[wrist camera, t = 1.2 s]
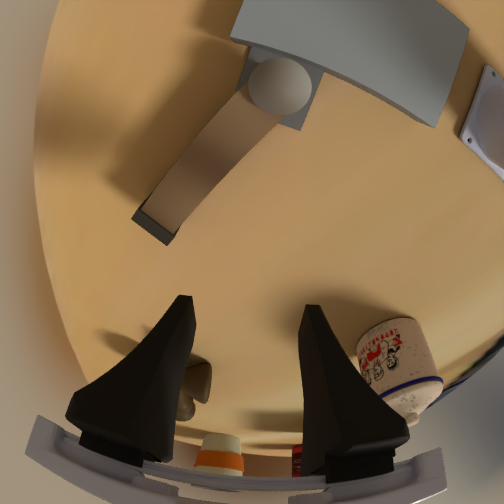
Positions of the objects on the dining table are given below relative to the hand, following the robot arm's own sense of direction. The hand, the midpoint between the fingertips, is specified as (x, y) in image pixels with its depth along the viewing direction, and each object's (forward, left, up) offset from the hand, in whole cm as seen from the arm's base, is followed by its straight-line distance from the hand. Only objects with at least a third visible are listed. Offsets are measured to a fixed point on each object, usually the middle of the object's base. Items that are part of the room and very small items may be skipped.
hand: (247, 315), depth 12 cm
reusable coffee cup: (-11, +61, -10) cm, 62 cm away
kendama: (+3, +28, -10) cm, 30 cm away
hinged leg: (+4, -4, -10) cm, 11 cm away
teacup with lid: (-20, +12, -10) cm, 25 cm away
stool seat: (-2, -14, -10) cm, 17 cm away
